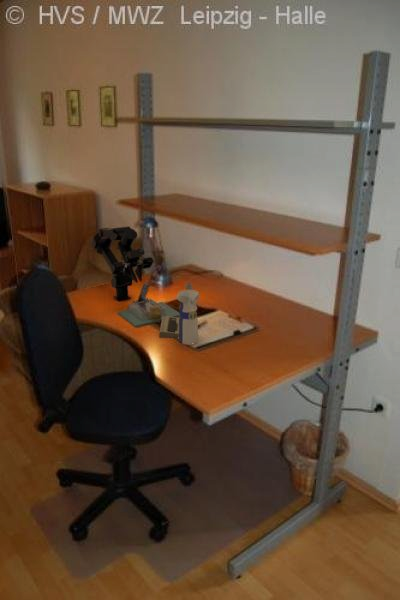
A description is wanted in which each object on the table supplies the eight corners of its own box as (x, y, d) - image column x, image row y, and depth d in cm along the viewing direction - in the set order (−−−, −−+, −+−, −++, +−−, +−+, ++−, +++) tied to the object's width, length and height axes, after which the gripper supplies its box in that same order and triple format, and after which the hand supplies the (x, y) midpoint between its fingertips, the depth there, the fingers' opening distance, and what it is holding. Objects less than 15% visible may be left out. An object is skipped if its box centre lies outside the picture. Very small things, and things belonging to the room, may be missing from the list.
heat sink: (129, 311, 206) (128, 299, 204) (151, 306, 212) (150, 294, 210) (144, 322, 194) (144, 310, 192) (168, 316, 200) (167, 304, 198)
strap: (138, 302, 206) (137, 300, 206) (144, 301, 208) (143, 299, 208) (144, 285, 197) (143, 283, 198) (150, 284, 199) (149, 282, 199)
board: (117, 313, 206) (117, 311, 206) (161, 303, 217) (161, 301, 217) (135, 327, 192) (135, 325, 192) (181, 316, 203) (181, 314, 203)
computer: (179, 338, 183) (179, 331, 182) (159, 338, 183) (158, 331, 182) (181, 322, 198) (181, 315, 197) (161, 322, 198) (161, 315, 197)
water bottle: (204, 341, 180) (204, 279, 171) (185, 346, 175) (184, 283, 167) (193, 333, 186) (192, 273, 177) (174, 338, 182) (172, 277, 173)
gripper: (111, 244, 198) (124, 276, 193) (151, 239, 207) (164, 269, 203) (105, 258, 207) (117, 289, 202) (143, 252, 216) (156, 281, 212)
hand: (139, 281), depth 204 cm, fingers closed
